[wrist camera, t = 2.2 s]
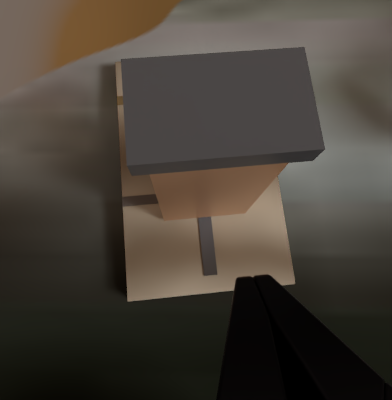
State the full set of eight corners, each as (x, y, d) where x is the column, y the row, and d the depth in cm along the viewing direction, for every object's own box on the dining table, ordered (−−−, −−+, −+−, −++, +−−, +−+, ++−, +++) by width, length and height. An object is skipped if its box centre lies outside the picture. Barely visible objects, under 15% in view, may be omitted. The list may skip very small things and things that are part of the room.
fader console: (287, 283, 22) (295, 283, 20) (131, 300, 21) (127, 301, 20) (253, 65, 26) (257, 51, 24) (119, 75, 25) (115, 61, 24)
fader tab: (253, 217, 21) (324, 149, 10) (156, 226, 21) (126, 165, 10) (245, 162, 22) (304, 47, 11) (152, 170, 22) (120, 58, 11)
